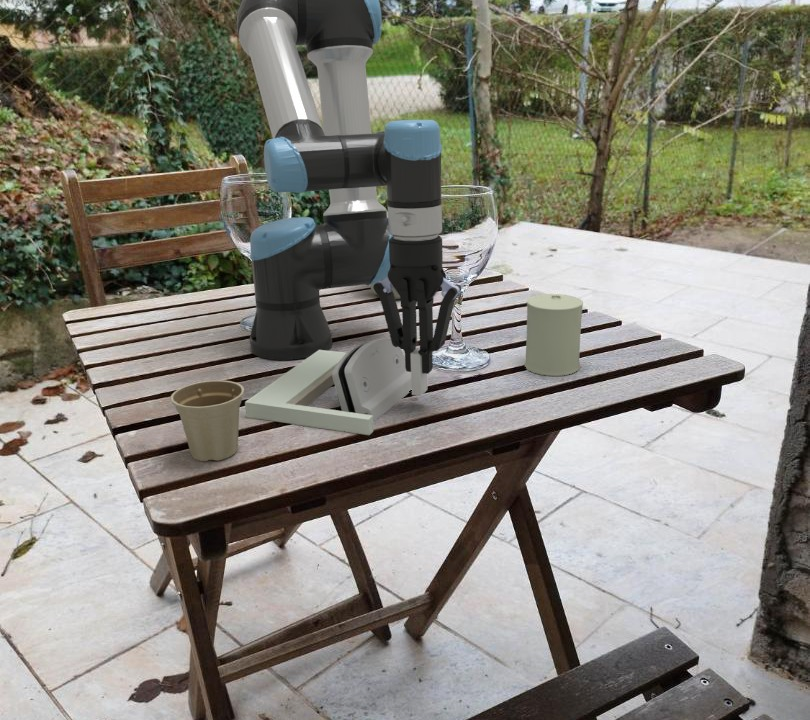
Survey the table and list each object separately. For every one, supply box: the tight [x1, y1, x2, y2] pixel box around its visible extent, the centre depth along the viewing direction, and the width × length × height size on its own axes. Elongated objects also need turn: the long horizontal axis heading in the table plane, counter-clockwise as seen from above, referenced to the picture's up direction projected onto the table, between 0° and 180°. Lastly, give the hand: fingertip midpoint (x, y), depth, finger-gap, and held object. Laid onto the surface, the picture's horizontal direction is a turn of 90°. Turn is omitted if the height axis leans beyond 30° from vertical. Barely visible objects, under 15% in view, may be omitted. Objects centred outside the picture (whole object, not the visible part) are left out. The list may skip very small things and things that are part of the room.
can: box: [524, 293, 584, 377], centre depth 128 cm, size 9×9×12 cm
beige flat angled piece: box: [244, 350, 374, 436], centre depth 120 cm, size 20×24×2 cm
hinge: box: [332, 337, 412, 422], centre depth 118 cm, size 17×5×10 cm, turn 154°
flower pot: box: [170, 379, 245, 462], centre depth 102 cm, size 9×9×9 cm
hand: (419, 391), depth 115 cm, fingers closed
